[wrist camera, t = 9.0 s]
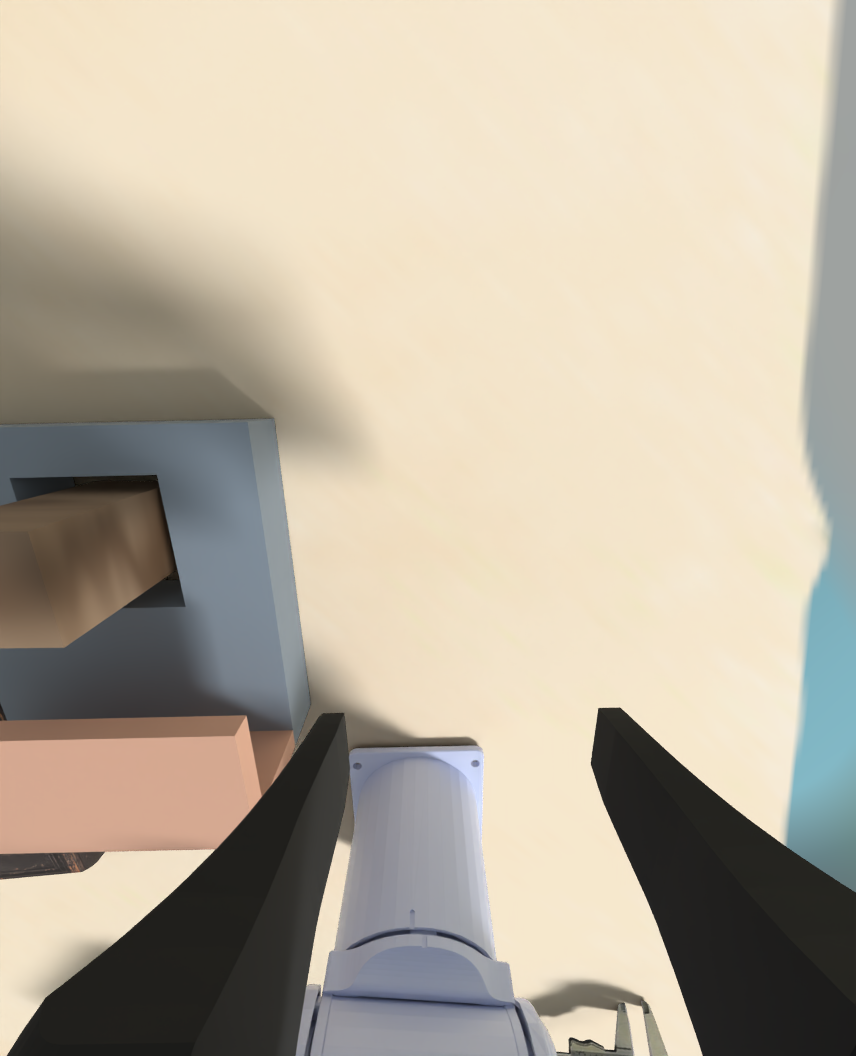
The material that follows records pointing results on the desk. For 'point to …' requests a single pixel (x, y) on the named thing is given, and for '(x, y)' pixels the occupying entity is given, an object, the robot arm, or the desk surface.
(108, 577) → the walnut peg
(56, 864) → the hardcover book
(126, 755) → the salmon pink block
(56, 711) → the socket block
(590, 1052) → the caliper
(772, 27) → the desk surface
